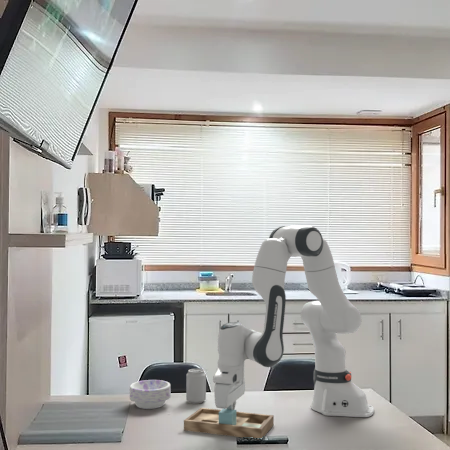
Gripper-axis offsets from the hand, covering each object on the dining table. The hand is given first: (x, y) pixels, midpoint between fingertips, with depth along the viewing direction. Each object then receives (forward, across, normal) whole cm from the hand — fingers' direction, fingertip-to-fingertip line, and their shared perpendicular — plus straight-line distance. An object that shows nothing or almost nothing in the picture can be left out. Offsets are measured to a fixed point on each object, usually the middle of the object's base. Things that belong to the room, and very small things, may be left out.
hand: (230, 415), depth 183 cm
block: (+2, +4, 0) cm, 4 cm away
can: (+4, -25, -23) cm, 34 cm away
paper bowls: (+4, -14, -37) cm, 40 cm away
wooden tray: (+4, 0, -1) cm, 4 cm away
